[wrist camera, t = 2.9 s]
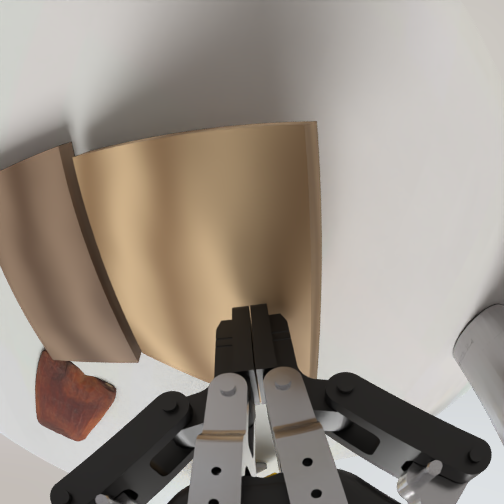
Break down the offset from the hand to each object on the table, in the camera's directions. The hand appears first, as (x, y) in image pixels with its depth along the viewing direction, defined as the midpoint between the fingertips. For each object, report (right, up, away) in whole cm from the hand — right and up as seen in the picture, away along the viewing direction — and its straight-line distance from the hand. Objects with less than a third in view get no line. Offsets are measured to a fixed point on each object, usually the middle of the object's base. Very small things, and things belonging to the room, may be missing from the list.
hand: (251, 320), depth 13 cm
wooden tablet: (-26, -18, +18) cm, 37 cm away
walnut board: (-16, +2, +7) cm, 17 cm away
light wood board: (-3, +2, +4) cm, 5 cm away
